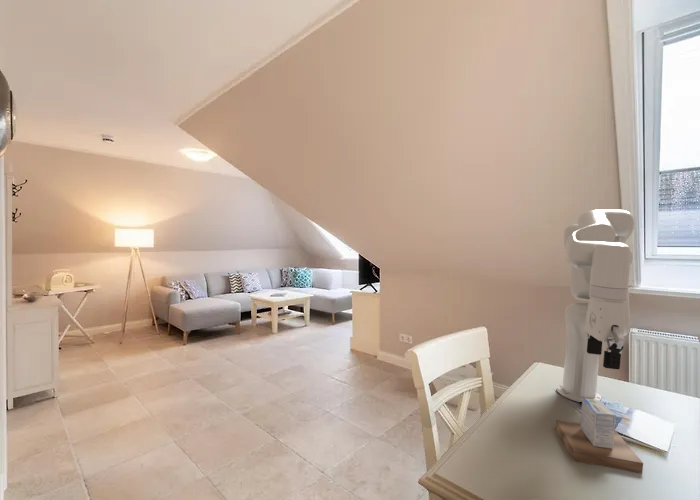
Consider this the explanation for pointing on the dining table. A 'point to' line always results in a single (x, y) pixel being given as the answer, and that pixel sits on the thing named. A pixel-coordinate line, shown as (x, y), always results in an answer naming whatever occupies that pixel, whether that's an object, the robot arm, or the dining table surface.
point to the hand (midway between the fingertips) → (602, 360)
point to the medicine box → (597, 423)
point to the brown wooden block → (597, 449)
